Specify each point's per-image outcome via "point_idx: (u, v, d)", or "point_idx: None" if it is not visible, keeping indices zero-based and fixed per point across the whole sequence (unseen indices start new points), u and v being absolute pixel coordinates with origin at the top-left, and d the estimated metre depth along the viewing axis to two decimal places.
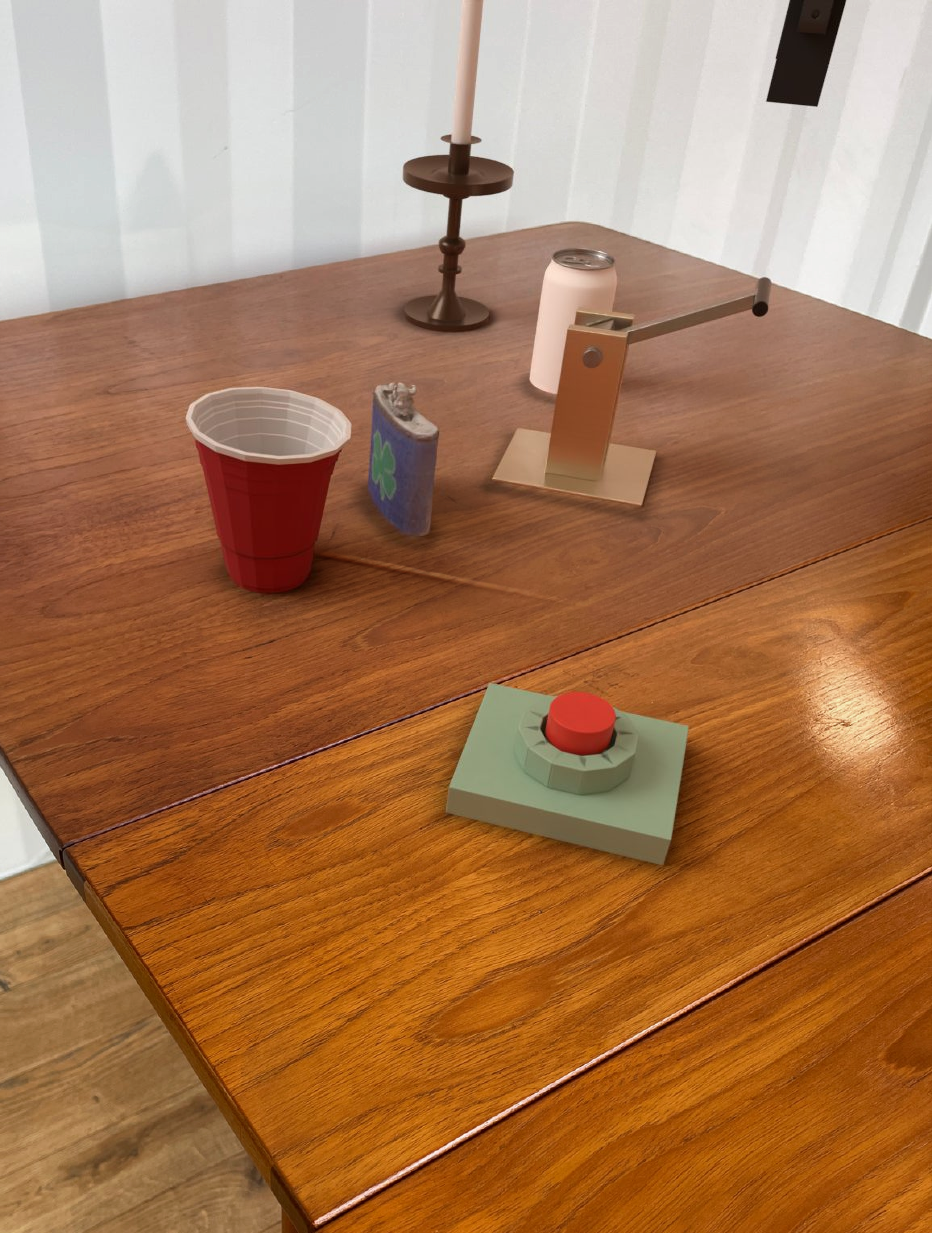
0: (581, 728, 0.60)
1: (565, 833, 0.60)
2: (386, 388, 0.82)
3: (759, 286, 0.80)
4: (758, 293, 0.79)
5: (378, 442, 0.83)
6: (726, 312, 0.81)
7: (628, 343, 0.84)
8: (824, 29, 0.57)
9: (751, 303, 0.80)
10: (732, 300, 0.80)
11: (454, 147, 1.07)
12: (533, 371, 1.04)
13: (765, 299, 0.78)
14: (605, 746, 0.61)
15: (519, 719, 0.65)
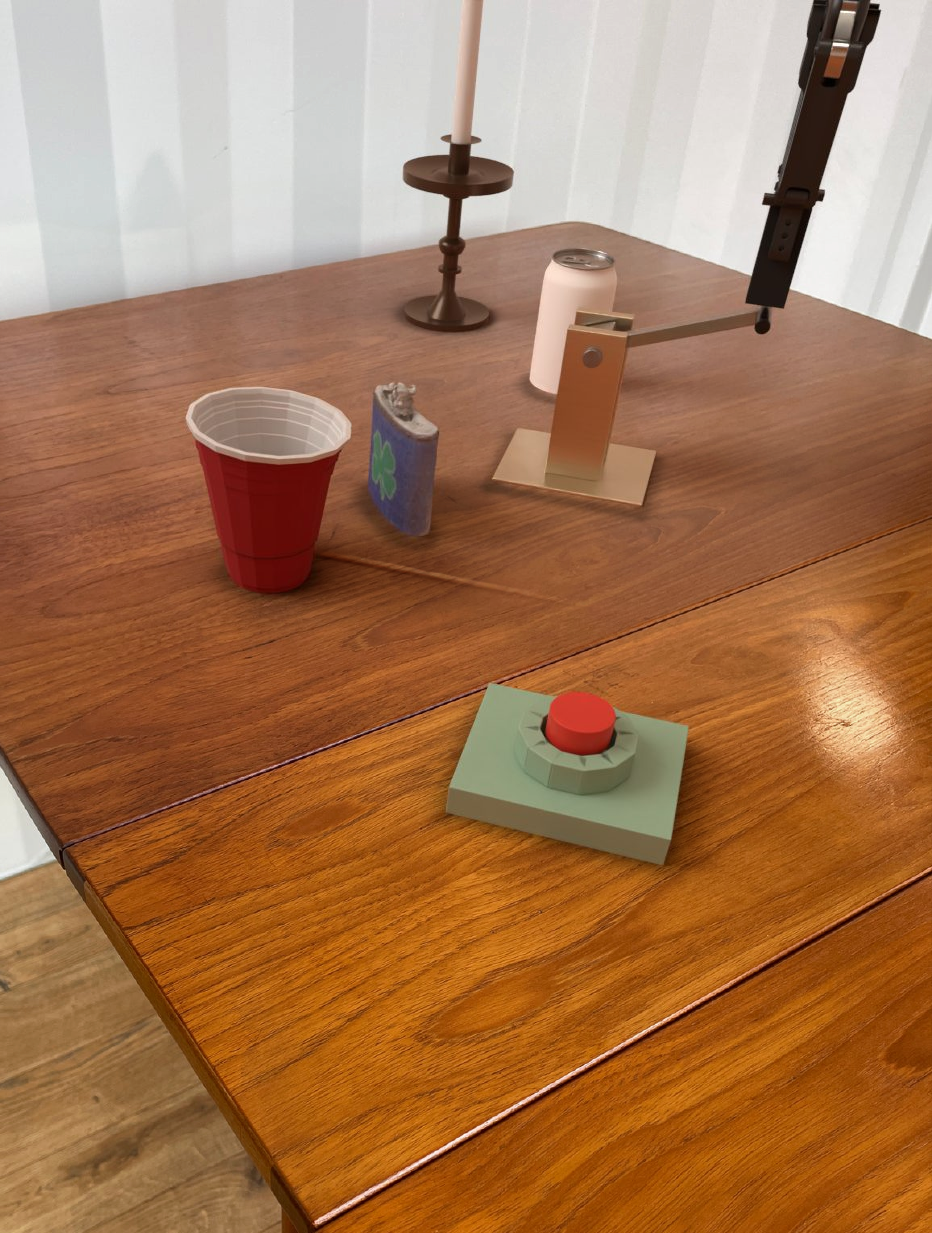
0: (581, 728, 0.60)
1: (565, 833, 0.60)
2: (386, 388, 0.82)
3: None
4: (761, 310, 0.80)
5: (378, 442, 0.83)
6: (728, 326, 0.81)
7: (628, 346, 0.84)
8: (788, 258, 0.76)
9: (753, 319, 0.81)
10: (735, 314, 0.81)
11: (454, 147, 1.07)
12: (533, 371, 1.04)
13: (768, 317, 0.79)
14: (605, 746, 0.61)
15: (519, 719, 0.65)
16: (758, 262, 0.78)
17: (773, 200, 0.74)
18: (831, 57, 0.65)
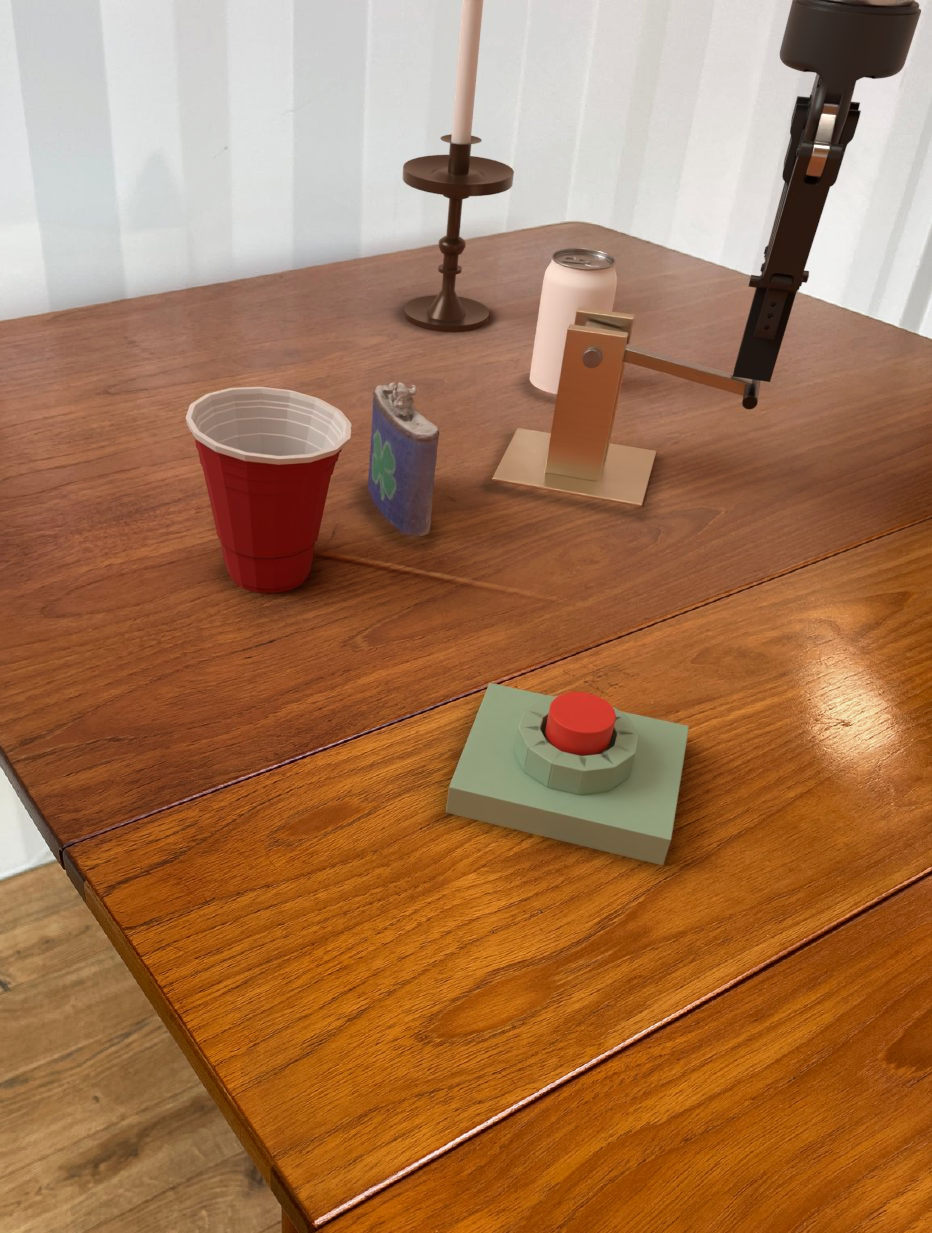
0: (581, 728, 0.60)
1: (565, 833, 0.60)
2: (386, 388, 0.82)
3: None
4: (752, 385, 0.83)
5: (378, 442, 0.83)
6: (718, 384, 0.84)
7: (624, 360, 0.85)
8: (773, 337, 0.80)
9: (741, 389, 0.84)
10: (728, 377, 0.84)
11: (454, 147, 1.07)
12: (533, 371, 1.04)
13: (757, 396, 0.82)
14: (605, 746, 0.61)
15: (519, 719, 0.65)
16: (745, 339, 0.81)
17: (759, 283, 0.78)
18: (812, 158, 0.68)
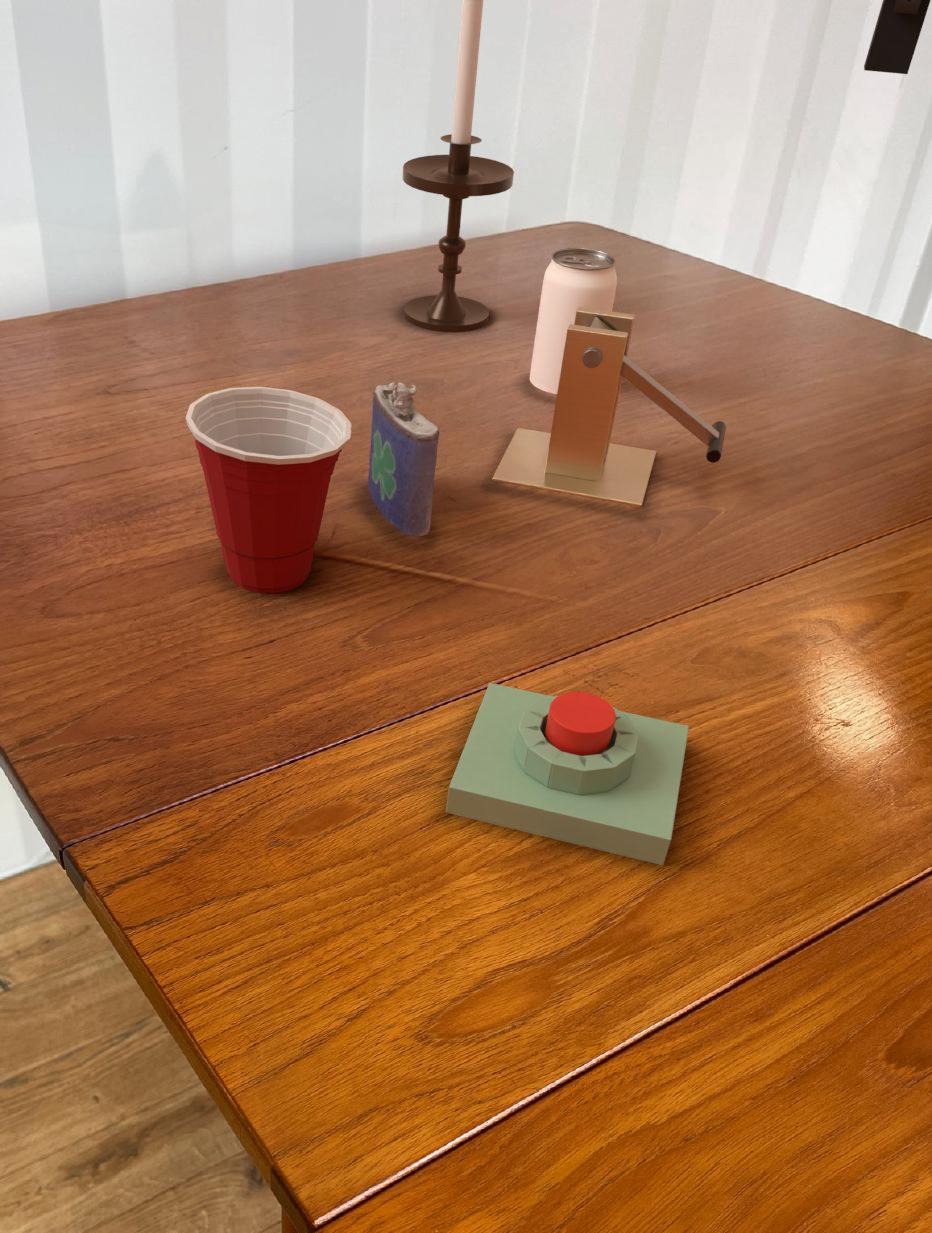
0: (581, 728, 0.60)
1: (565, 833, 0.60)
2: (386, 388, 0.82)
3: (720, 431, 0.88)
4: (719, 440, 0.86)
5: (378, 442, 0.83)
6: (689, 426, 0.87)
7: None
8: (916, 10, 0.71)
9: (707, 439, 0.87)
10: (701, 424, 0.86)
11: (454, 147, 1.07)
12: (533, 371, 1.04)
13: (721, 452, 0.86)
14: (605, 746, 0.61)
15: (519, 719, 0.65)
16: (882, 19, 0.72)
17: None
18: None
